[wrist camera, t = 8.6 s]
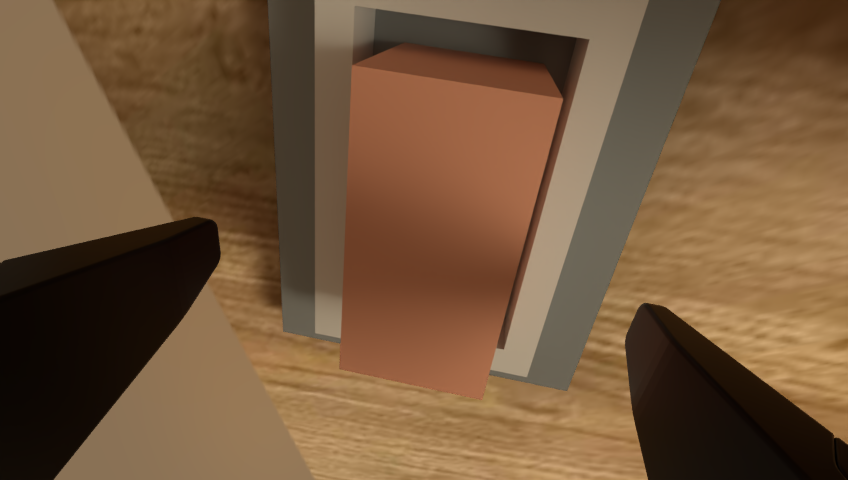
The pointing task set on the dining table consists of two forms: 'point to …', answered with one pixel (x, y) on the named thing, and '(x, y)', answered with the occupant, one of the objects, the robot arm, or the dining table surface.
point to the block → (438, 209)
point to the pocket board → (565, 167)
